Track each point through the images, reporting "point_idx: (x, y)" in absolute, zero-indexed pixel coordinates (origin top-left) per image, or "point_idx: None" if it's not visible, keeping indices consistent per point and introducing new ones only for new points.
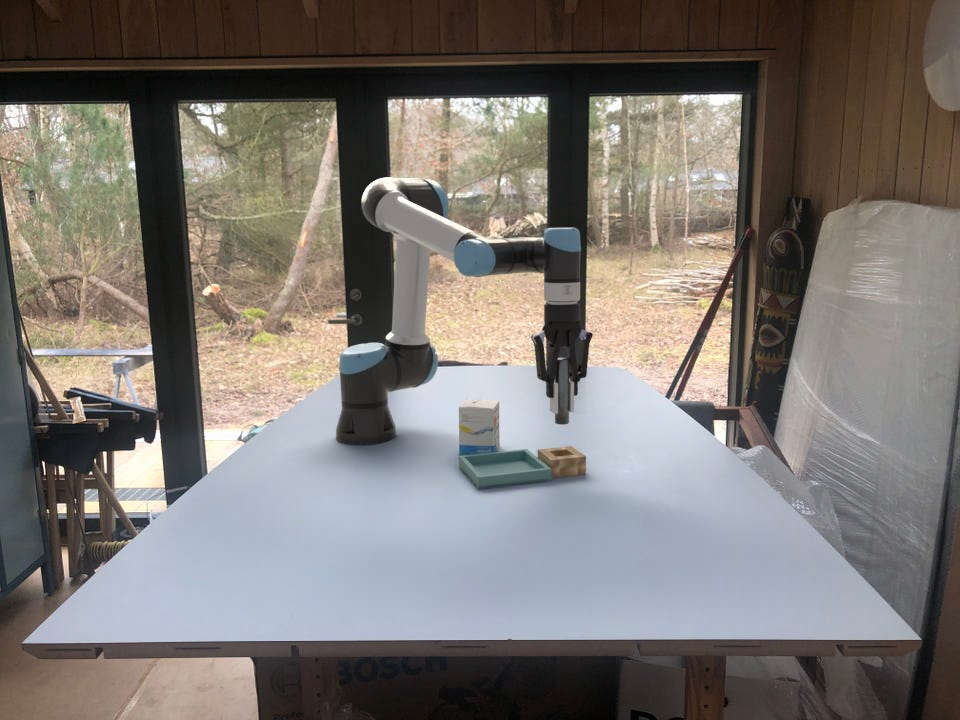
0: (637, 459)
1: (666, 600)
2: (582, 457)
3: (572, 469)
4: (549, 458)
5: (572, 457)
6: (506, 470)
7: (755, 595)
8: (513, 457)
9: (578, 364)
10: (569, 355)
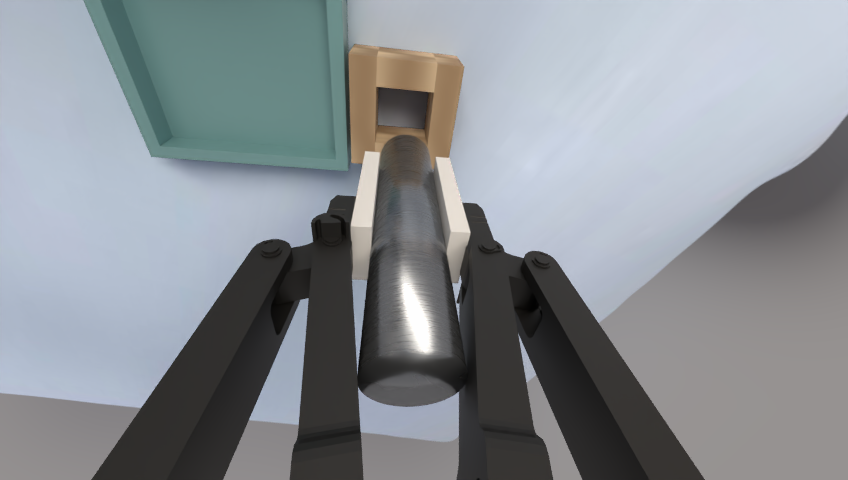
0: (618, 105)
1: None
2: None
3: None
4: (352, 149)
5: None
6: (249, 58)
7: (405, 414)
8: None
9: (545, 316)
10: (461, 419)
